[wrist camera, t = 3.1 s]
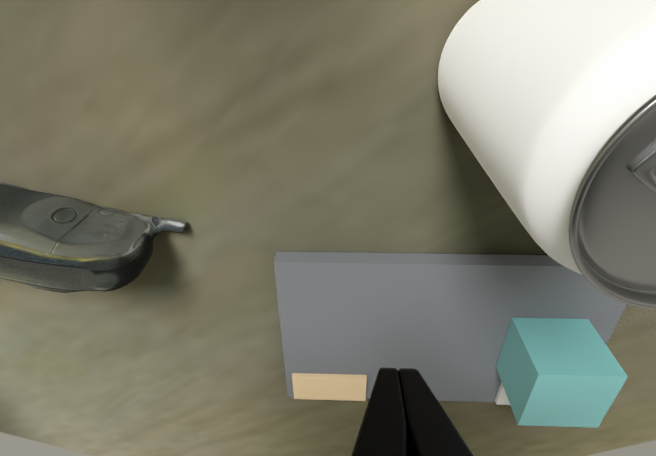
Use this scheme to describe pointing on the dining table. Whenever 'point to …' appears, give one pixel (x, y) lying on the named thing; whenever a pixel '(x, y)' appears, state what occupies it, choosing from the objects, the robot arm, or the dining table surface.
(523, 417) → the teal cube
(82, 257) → the mobile phone
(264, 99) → the dining table surface
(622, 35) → the can
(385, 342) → the grey flat board
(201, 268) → the dining table surface
